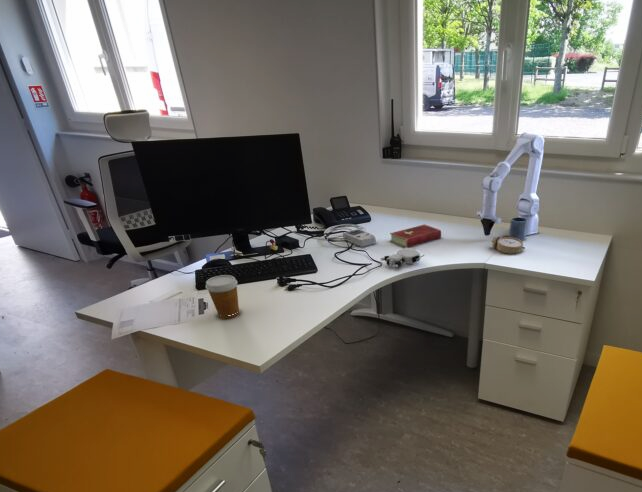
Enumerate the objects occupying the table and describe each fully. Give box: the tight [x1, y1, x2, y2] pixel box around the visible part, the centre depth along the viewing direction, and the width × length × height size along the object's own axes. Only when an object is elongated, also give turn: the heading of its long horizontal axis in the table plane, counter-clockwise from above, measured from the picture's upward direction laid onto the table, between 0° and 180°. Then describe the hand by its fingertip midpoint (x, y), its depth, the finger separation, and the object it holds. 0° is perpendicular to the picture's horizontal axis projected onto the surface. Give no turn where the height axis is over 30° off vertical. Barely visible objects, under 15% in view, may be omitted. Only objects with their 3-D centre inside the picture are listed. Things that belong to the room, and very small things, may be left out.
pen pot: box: [508, 216, 527, 242], centre depth 210 cm, size 7×7×9 cm
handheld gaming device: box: [342, 228, 377, 248], centre depth 208 cm, size 9×15×4 cm, turn 41°
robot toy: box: [380, 247, 425, 268], centre depth 185 cm, size 12×4×15 cm
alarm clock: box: [491, 234, 526, 255], centre depth 200 cm, size 11×5×15 cm
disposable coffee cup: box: [205, 274, 240, 320], centre depth 145 cm, size 10×10×12 cm
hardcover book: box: [389, 223, 442, 248], centre depth 210 cm, size 12×21×4 cm, turn 130°
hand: (487, 234), depth 209 cm, fingers closed
